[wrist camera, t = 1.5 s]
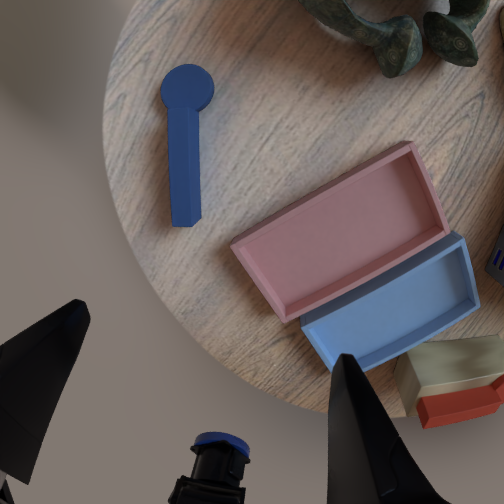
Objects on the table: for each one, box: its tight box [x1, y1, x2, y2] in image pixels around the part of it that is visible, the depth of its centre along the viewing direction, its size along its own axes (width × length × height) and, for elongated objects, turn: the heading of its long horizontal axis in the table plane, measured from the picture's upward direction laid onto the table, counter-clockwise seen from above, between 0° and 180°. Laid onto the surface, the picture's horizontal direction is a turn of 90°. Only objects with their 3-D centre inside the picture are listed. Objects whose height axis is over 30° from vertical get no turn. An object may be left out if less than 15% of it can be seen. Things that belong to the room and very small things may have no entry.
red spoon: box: [416, 374, 504, 429], centre depth 19 cm, size 12×4×2 cm, turn 91°
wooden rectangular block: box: [393, 335, 504, 417], centre depth 23 cm, size 13×4×6 cm, turn 91°
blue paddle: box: [161, 64, 214, 227], centre depth 20 cm, size 12×4×2 cm, turn 0°
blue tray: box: [300, 230, 481, 374], centre depth 24 cm, size 15×8×2 cm, turn 123°
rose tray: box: [230, 141, 451, 324], centre depth 22 cm, size 15×8×2 cm, turn 123°
